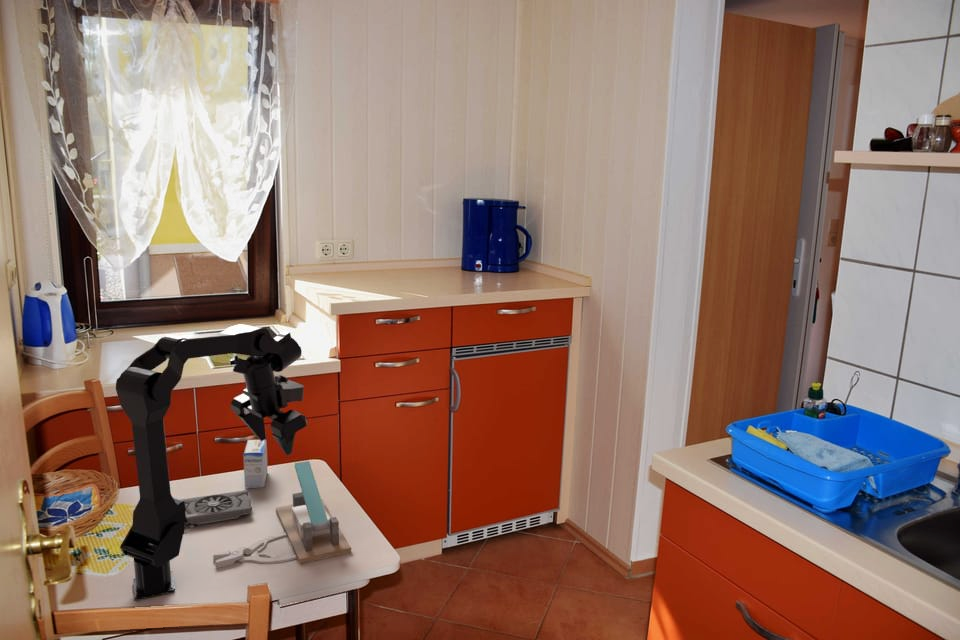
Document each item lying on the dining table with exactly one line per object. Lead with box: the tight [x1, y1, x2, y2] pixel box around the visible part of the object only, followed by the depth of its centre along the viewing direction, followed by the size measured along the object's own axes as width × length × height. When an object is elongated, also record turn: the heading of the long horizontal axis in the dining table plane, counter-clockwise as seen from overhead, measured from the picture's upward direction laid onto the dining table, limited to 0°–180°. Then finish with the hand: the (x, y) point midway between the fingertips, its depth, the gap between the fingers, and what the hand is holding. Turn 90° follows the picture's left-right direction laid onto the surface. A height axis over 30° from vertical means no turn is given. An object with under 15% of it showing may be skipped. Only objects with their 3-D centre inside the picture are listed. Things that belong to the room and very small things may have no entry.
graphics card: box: [180, 489, 253, 530], centre depth 156 cm, size 17×4×12 cm
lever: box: [294, 460, 330, 532], centre depth 149 cm, size 17×3×1 cm, turn 27°
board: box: [275, 498, 352, 565], centre depth 151 cm, size 22×10×6 cm, turn 26°
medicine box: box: [243, 439, 268, 489], centre depth 173 cm, size 8×4×9 cm, turn 10°
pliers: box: [212, 532, 297, 569], centre depth 143 cm, size 10×2×15 cm
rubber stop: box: [292, 491, 306, 507], centre depth 158 cm, size 2×4×5 cm, turn 116°
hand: (275, 446), depth 157 cm, fingers open, 9 cm apart
